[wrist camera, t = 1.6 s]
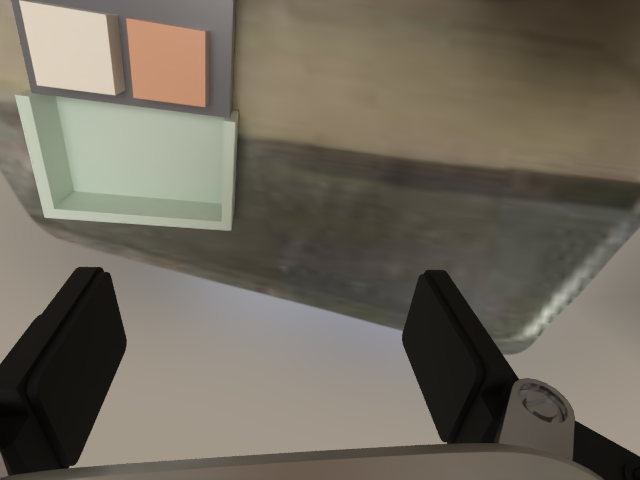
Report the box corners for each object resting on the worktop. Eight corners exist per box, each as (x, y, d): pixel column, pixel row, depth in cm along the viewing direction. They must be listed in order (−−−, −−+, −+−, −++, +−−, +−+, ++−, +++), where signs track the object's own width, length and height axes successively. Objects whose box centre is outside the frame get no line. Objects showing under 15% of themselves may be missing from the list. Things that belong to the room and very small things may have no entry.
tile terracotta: (136, 18, 24) (126, 18, 22) (209, 30, 24) (205, 31, 23) (142, 92, 26) (133, 97, 24) (209, 101, 27) (205, 107, 25)
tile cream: (37, 1, 22) (19, 0, 21) (117, 14, 23) (106, 14, 22) (52, 80, 25) (36, 85, 23) (125, 90, 26) (115, 95, 24)
